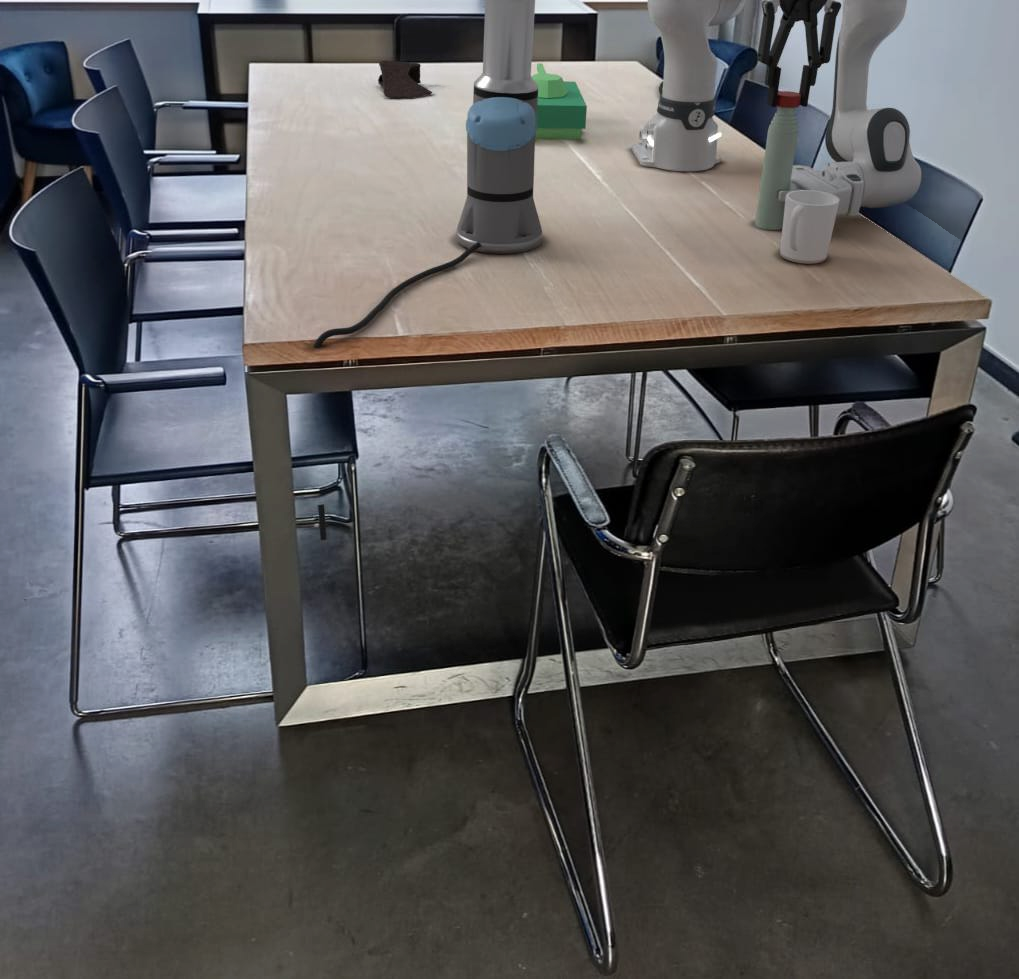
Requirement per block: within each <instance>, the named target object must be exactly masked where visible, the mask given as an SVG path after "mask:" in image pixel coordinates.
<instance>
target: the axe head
mask: <svg viewBox="0 0 1019 979" xmlns="http://www.w3.org/2000/svg"><path fill="white" fill-rule="evenodd" d="M378 66H379V68H380V72H381V74H379V75H378V79H377V84H378V85H379V86H380V87H381V88H382V89H383V95H384V96H385V97H388V98H394V99H395V98H396V99H403V98H405V99H406V98H407V99H411V98H418V97H425V96H429V95H432V94H433V91H431V90H430V89H428V88H427V87H425V86H422V85H421V84H422V82H421V63H419V62H410V61H408V62H407V61H397V60H388V59H387V60H380V61H379V62H378Z"/></svg>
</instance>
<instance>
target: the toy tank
mask: <svg viewBox="0 0 1019 979" xmlns="http://www.w3.org/2000/svg"><path fill="white" fill-rule="evenodd" d="M536 70H537V73H534V74H533V75H531V77H532V78H533V80H534V81H535V82H536V83H537V84H538V104H537V131H536V136H535V141H537V140H541V141H545V140H546V141H581V140H582V133H583V130H585V129H586V127H587V124H586V123H587V110H588V109H587V108H588V104H587V103H586V101H585V99H584V97H583V94H582V92H581V90H580V88H579V87H578V86H579V85H578V84H577V82H576V81H569V80H568V81H565V80H563V77H562V76H560V75H558V74H556V73H547V72H546V68H545V67H544V64H543V63H536Z"/></svg>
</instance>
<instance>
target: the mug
mask: <svg viewBox="0 0 1019 979" xmlns="http://www.w3.org/2000/svg"><path fill="white" fill-rule="evenodd" d="M839 200H840V199H839V198H838V197H837V196H835V195H832V194H830V193H826V192H821V191H813V190H797V191H792V192H789V193H787V194H786V200H785V209H784V219H783V228H782V229H781V239H780V248H779V254H780V257H782V258H783V259H785V260H787V261H790V262H793V263H797V264H805V265H806V264H809V265H813V264H819V263H823V262H824V261H825V260H827V258H828V253H829V248H830V245H831V240H832V236H833V231H834V227H835V223H836V218H837V215H836V214H837V210H838V205H839Z"/></svg>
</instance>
